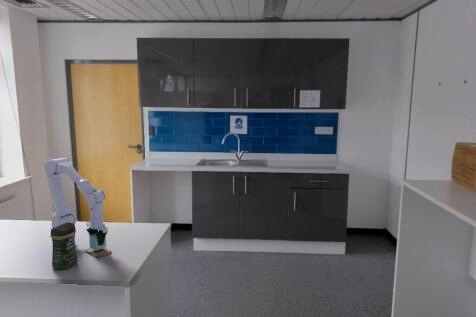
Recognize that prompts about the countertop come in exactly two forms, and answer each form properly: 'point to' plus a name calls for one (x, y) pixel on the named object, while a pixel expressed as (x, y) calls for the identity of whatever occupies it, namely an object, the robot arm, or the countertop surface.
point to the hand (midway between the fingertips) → (97, 243)
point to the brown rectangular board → (98, 252)
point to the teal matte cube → (96, 242)
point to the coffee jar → (63, 246)
